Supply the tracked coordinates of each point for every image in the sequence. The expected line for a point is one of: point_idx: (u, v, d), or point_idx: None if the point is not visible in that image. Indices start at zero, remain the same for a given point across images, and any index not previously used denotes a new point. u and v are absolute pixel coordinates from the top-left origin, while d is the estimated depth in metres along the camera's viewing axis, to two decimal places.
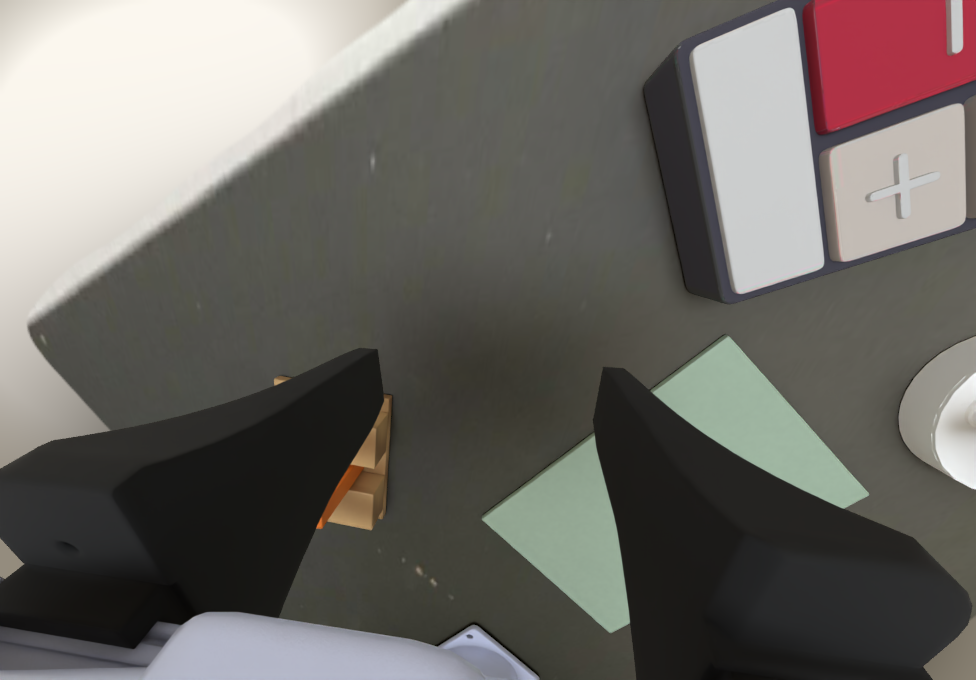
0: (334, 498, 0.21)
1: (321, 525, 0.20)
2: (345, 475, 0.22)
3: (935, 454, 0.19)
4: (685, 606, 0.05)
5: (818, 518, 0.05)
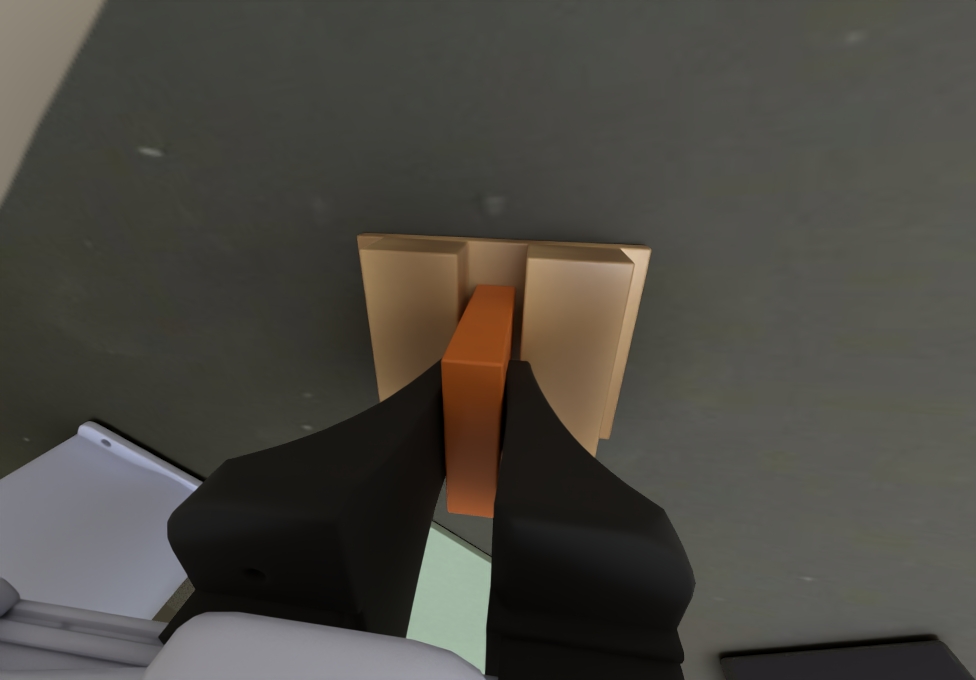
0: None
1: None
2: None
3: None
4: None
5: (590, 493, 0.05)
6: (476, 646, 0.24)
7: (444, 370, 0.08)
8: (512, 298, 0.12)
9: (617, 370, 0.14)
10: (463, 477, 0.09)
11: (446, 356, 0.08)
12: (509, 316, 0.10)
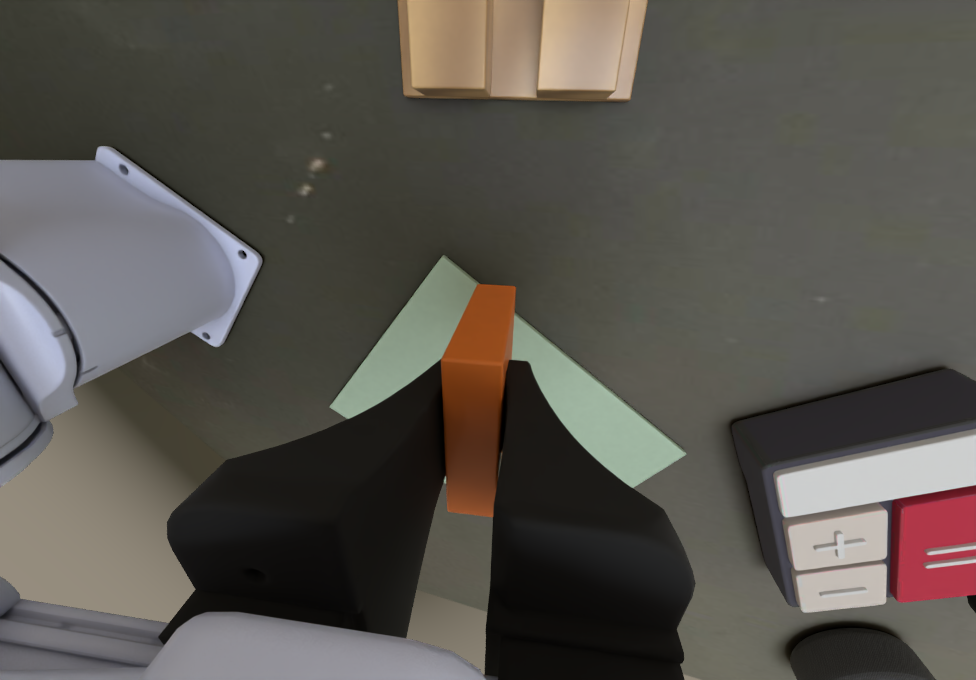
0: None
1: (456, 512, 0.10)
2: None
3: None
4: None
5: (590, 493, 0.05)
6: None
7: (444, 369, 0.08)
8: (512, 297, 0.12)
9: None
10: (463, 476, 0.09)
11: (446, 355, 0.08)
12: (509, 315, 0.10)
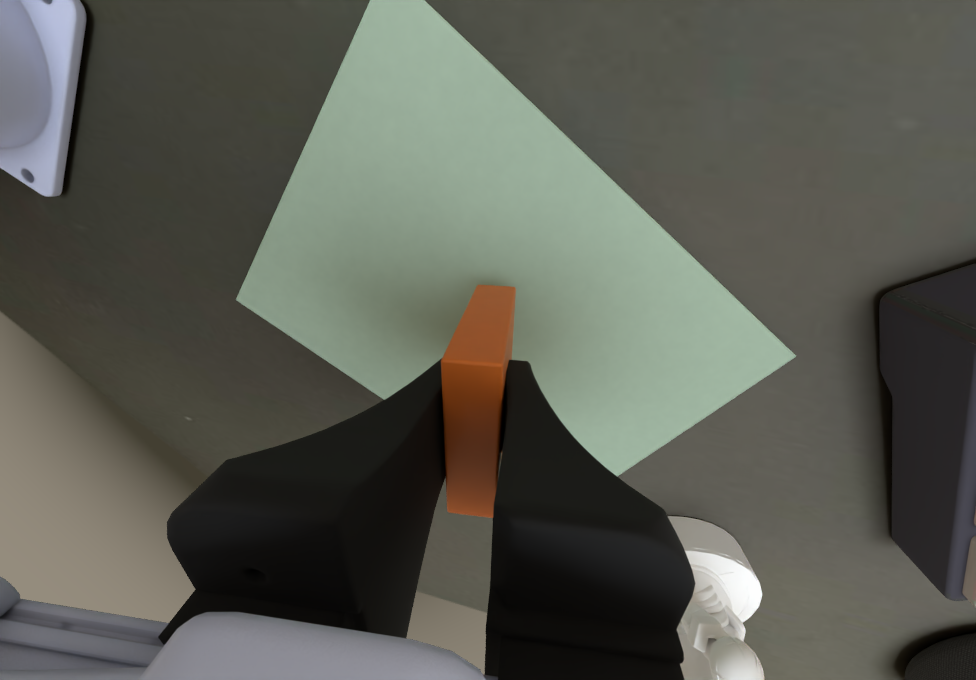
0: None
1: None
2: None
3: None
4: None
5: (590, 493, 0.05)
6: None
7: (444, 370, 0.08)
8: (512, 298, 0.12)
9: None
10: (463, 477, 0.09)
11: (446, 356, 0.08)
12: (509, 316, 0.10)
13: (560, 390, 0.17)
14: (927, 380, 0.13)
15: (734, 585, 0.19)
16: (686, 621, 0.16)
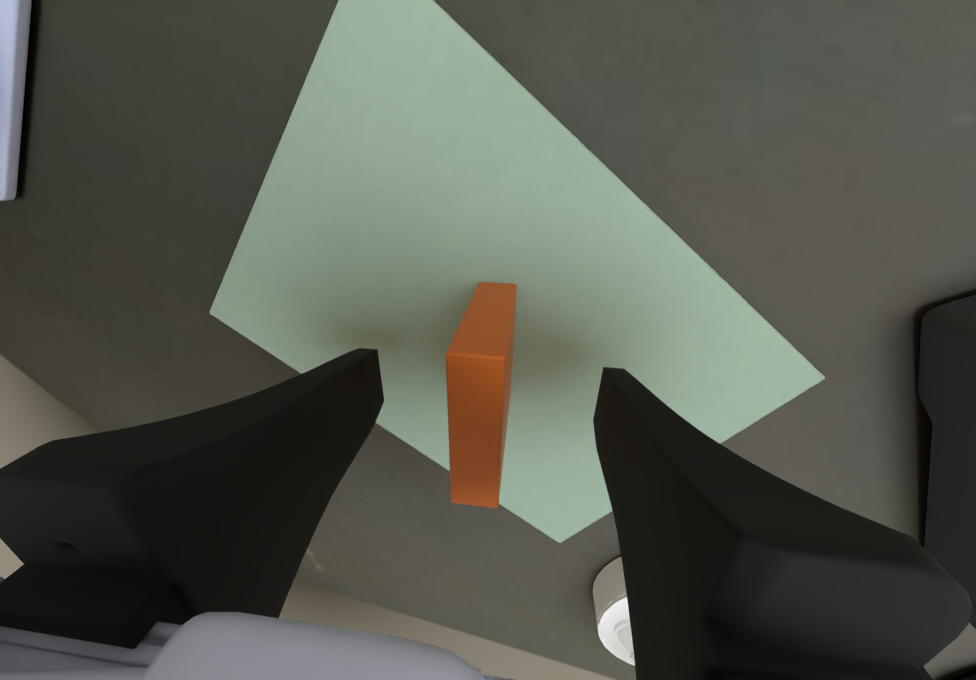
0: None
1: (459, 503, 0.10)
2: (505, 438, 0.13)
3: None
4: (685, 606, 0.05)
5: (819, 519, 0.05)
6: None
7: (448, 363, 0.08)
8: (513, 295, 0.12)
9: None
10: (466, 468, 0.10)
11: (450, 350, 0.08)
12: (511, 312, 0.10)
13: (563, 411, 0.15)
14: None
15: None
16: None
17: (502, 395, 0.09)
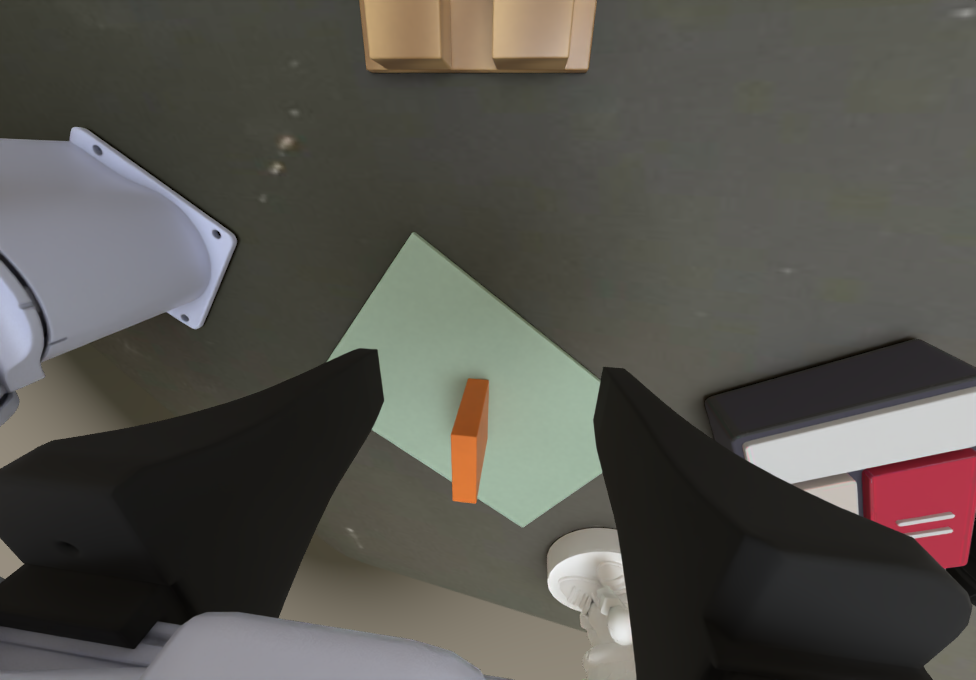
0: None
1: None
2: (482, 465, 0.23)
3: (573, 554, 0.28)
4: (685, 606, 0.05)
5: (818, 518, 0.05)
6: None
7: (452, 438, 0.19)
8: (486, 390, 0.22)
9: None
10: (460, 484, 0.20)
11: (452, 432, 0.19)
12: (482, 405, 0.21)
13: (519, 447, 0.26)
14: None
15: None
16: (599, 597, 0.25)
17: (476, 452, 0.19)
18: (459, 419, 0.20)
